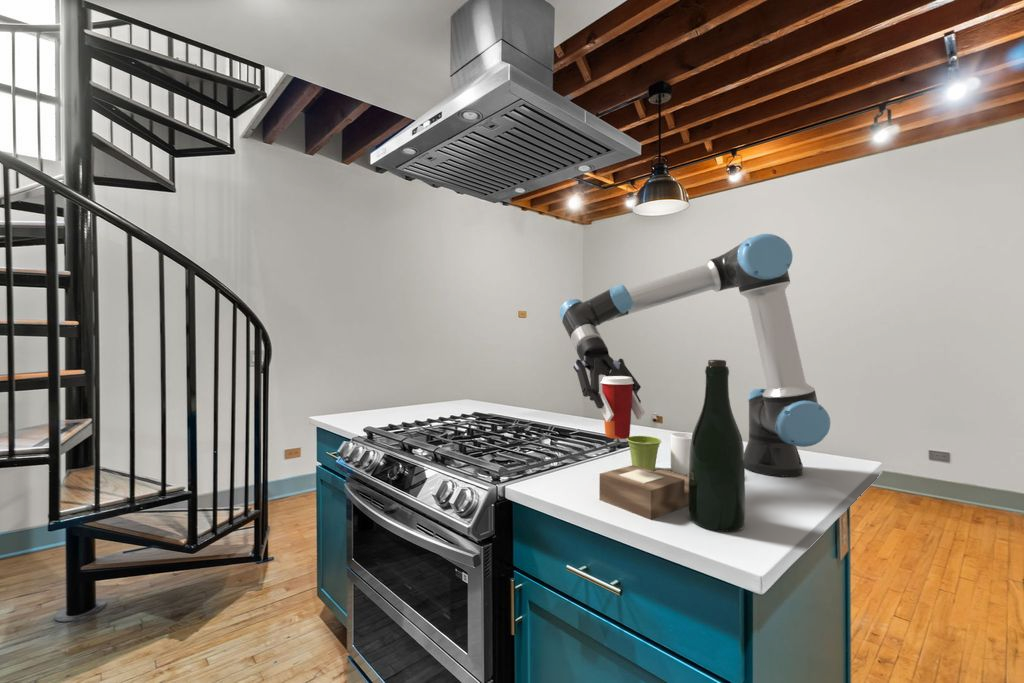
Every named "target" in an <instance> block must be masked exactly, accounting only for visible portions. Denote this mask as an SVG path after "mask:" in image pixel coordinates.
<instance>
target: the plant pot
mask: <svg viewBox="0 0 1024 683" xmlns="http://www.w3.org/2000/svg"><path fill="white" fill-rule="evenodd" d="M626 441H627V442H628V446H629V452H630V458H631V460H630V461H631V466H632V465H634V466H638V467H641V468H645V469H648V470H652V471H656V464H657V456H658V450H659V448H660V444H661V443H662V439H660V438H658V437H655V436H648V435H630V436H629V438H626Z"/></svg>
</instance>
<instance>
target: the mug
mask: <svg viewBox="0 0 1024 683" xmlns="http://www.w3.org/2000/svg"><path fill="white" fill-rule="evenodd" d="M692 433H693V432H686V431H684V432H683V431H679V432H676V431H675V432H671V434H670V469H671V472H675V473H678V474H682V475H687V476H689V458H690V443H691V438H692Z"/></svg>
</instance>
